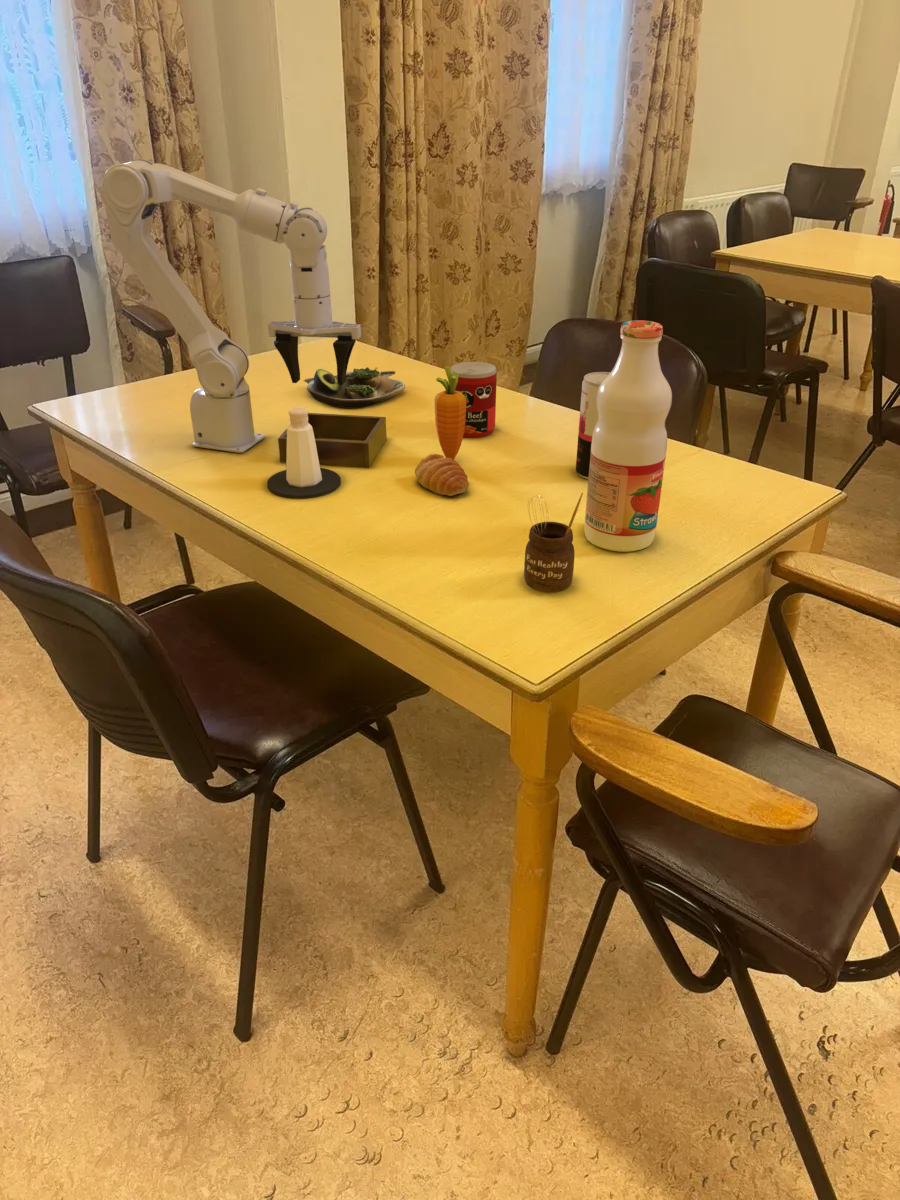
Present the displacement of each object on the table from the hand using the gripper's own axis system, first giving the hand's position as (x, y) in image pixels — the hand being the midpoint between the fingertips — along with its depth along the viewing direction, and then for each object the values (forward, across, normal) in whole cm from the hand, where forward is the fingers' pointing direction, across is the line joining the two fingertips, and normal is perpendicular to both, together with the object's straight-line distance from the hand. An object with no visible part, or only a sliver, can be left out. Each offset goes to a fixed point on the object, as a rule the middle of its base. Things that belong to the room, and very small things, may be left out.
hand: (319, 382), depth 144 cm
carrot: (+11, +22, -4) cm, 25 cm away
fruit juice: (+11, +49, -27) cm, 57 cm away
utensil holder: (+11, +41, -41) cm, 59 cm away
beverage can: (+11, +45, -5) cm, 47 cm away
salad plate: (+11, -2, +27) cm, 29 cm away
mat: (+10, +2, -17) cm, 20 cm away
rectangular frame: (+10, +3, -3) cm, 11 cm away
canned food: (+11, +24, +10) cm, 28 cm away
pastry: (+11, +23, -14) cm, 29 cm away
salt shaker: (+10, +2, -17) cm, 20 cm away
